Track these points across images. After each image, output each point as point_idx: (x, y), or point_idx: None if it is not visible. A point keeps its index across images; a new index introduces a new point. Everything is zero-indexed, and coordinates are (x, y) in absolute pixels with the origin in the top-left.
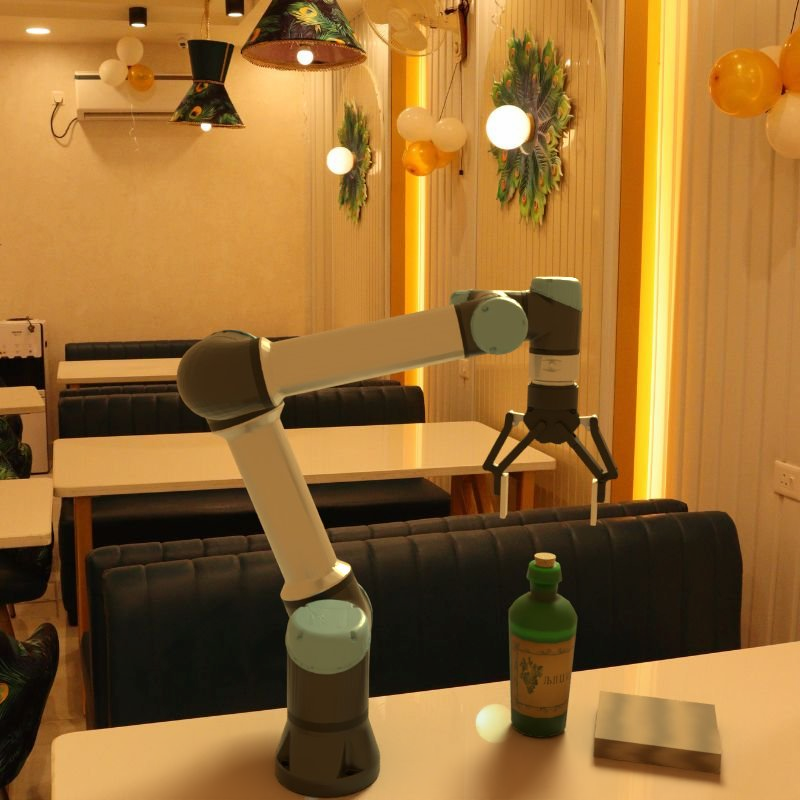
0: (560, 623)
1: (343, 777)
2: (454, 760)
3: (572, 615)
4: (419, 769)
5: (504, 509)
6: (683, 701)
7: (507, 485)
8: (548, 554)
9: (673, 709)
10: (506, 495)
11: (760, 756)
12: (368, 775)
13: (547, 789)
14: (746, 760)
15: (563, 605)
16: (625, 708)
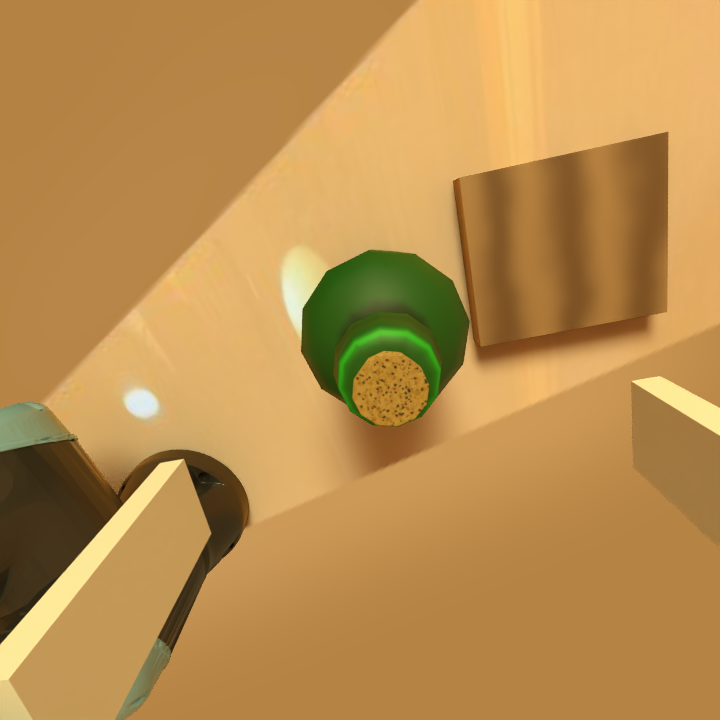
0: (442, 388)
1: (227, 553)
2: (309, 426)
3: (462, 345)
4: (280, 461)
5: (191, 569)
6: (611, 147)
7: (96, 612)
8: (396, 369)
9: (593, 191)
10: (146, 590)
11: (713, 226)
12: (244, 524)
13: (435, 437)
14: (690, 249)
15: (443, 357)
16: (512, 227)
